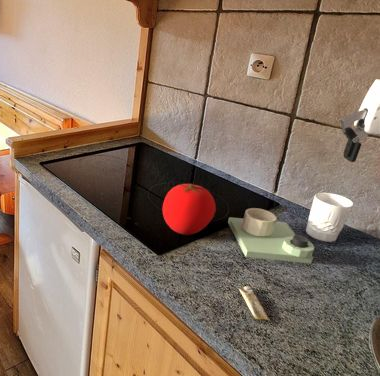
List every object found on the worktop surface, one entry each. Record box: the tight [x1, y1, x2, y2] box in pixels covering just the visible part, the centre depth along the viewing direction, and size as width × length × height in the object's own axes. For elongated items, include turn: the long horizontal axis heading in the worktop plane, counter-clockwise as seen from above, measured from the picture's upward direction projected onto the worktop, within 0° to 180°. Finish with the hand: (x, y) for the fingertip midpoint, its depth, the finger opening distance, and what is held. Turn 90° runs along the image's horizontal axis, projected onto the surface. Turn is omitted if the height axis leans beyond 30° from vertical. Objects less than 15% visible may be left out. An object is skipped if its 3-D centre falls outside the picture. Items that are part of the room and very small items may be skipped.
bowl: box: [242, 207, 278, 237], centre depth 99 cm, size 7×7×4 cm
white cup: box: [305, 192, 354, 243], centre depth 100 cm, size 8×8×10 cm
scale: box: [227, 216, 315, 264], centre depth 98 cm, size 14×16×4 cm
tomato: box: [162, 182, 217, 236], centre depth 100 cm, size 12×12×13 cm
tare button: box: [291, 234, 310, 248], centre depth 91 cm, size 3×3×2 cm
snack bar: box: [236, 285, 271, 323], centre depth 77 cm, size 10×2×3 cm
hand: (374, 161), depth 81 cm, fingers open, 9 cm apart
